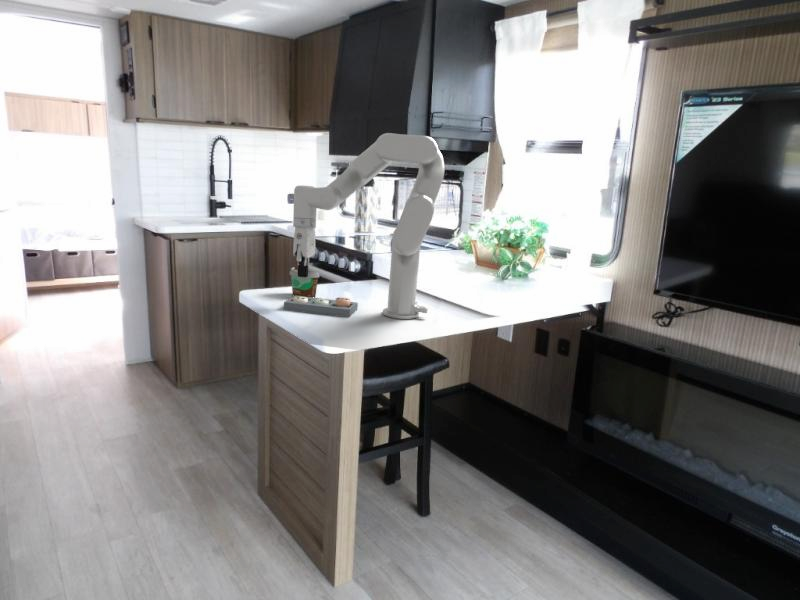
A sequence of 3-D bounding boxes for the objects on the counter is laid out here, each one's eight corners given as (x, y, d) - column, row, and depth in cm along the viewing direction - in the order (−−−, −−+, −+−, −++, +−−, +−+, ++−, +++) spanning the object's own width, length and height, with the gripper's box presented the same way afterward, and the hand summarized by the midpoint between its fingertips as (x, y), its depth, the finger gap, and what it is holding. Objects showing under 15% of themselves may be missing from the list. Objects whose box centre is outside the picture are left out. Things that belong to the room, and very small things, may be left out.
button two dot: (309, 306, 198) (310, 297, 197) (305, 309, 193) (305, 300, 192) (296, 304, 198) (296, 295, 198) (291, 307, 194) (291, 298, 193)
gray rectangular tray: (357, 309, 198) (357, 302, 198) (349, 317, 188) (349, 309, 187) (294, 302, 202) (295, 295, 201) (283, 309, 191) (284, 302, 190)
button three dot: (351, 306, 195) (351, 297, 195) (347, 310, 190) (348, 301, 190) (337, 305, 196) (337, 296, 195) (333, 308, 191) (333, 299, 190)
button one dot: (330, 308, 197) (330, 299, 196) (326, 311, 192) (326, 302, 191) (316, 306, 197) (316, 298, 197) (312, 310, 193) (312, 301, 192)
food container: (282, 295, 212) (282, 268, 209) (292, 292, 217) (293, 267, 215) (308, 300, 206) (309, 273, 204) (318, 297, 211) (319, 271, 209)
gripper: (308, 225, 181) (306, 281, 186) (322, 222, 196) (320, 274, 200) (285, 223, 182) (284, 279, 187) (301, 220, 197) (299, 272, 201)
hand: (302, 276), depth 193 cm, fingers closed
